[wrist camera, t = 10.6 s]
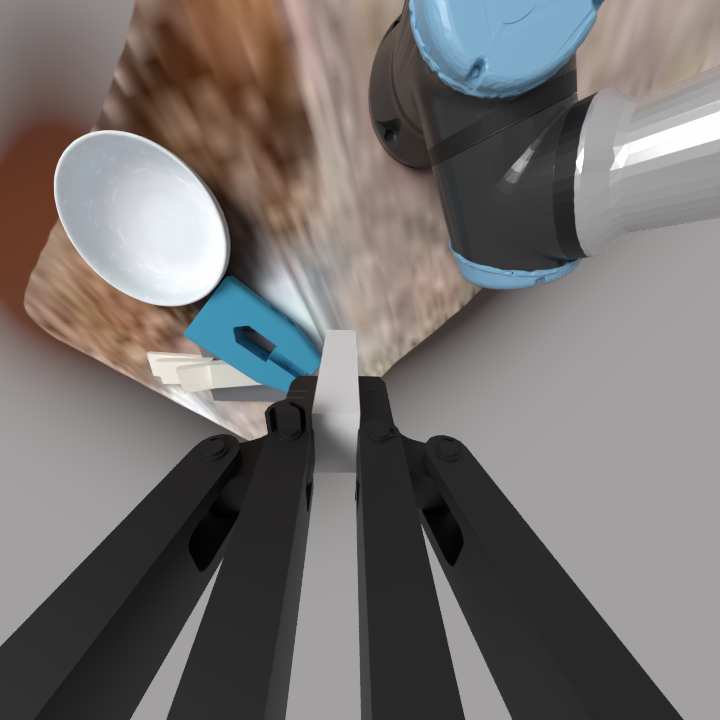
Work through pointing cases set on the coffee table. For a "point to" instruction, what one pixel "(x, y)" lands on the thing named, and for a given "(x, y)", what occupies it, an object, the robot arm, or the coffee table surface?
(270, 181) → the coffee table surface
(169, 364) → the domino
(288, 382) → the block
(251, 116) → the coffee table surface
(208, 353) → the domino mat
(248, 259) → the coffee table surface
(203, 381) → the domino
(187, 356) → the domino
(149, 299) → the serving bowl
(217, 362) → the domino
